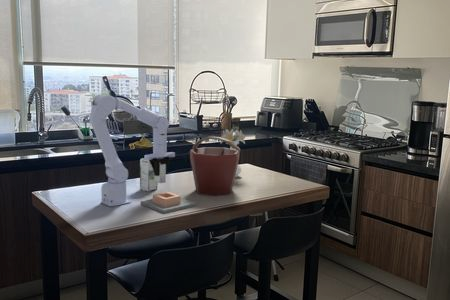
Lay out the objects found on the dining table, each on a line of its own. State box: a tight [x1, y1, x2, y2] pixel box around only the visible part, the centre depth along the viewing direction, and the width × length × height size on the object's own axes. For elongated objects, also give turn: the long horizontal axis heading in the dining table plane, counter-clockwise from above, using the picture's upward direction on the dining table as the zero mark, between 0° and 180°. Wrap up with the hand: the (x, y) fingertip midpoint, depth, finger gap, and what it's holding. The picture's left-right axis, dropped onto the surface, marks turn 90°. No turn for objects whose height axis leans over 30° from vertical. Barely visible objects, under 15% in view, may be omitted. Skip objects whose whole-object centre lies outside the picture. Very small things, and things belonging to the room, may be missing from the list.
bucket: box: [189, 136, 241, 197], centre depth 203 cm, size 24×22×25 cm
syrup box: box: [139, 157, 159, 192], centre depth 205 cm, size 6×6×14 cm
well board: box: [140, 191, 197, 214], centre depth 182 cm, size 16×16×4 cm
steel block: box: [154, 163, 167, 184], centre depth 193 cm, size 3×4×8 cm
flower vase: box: [220, 128, 246, 178], centre depth 236 cm, size 13×18×25 cm
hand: (159, 175), depth 193 cm, fingers closed on steel block, 3 cm apart
